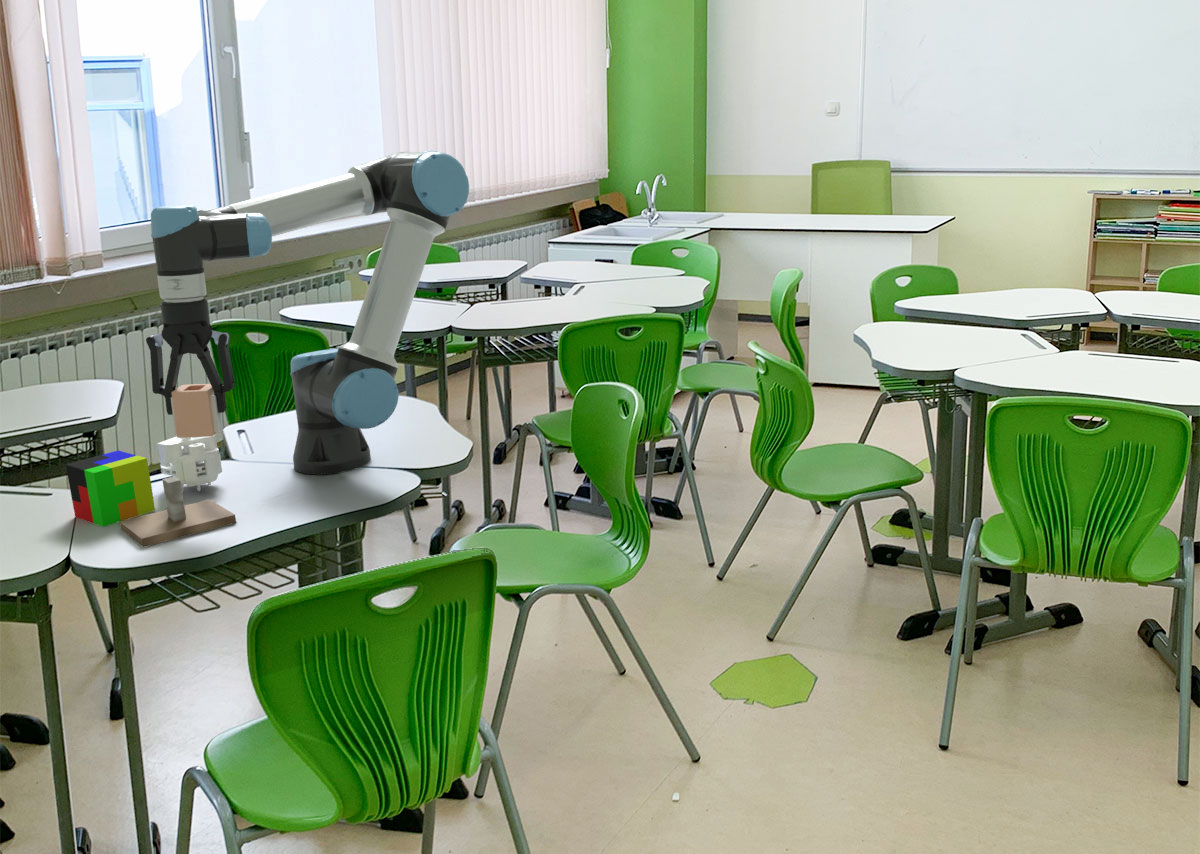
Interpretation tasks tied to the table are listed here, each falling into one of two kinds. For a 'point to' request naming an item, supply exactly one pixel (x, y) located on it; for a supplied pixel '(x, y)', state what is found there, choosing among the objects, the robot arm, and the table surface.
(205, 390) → the peach block with hole
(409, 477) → the table surface
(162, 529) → the shaft plate
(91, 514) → the puzzle toy
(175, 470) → the mechanical part
